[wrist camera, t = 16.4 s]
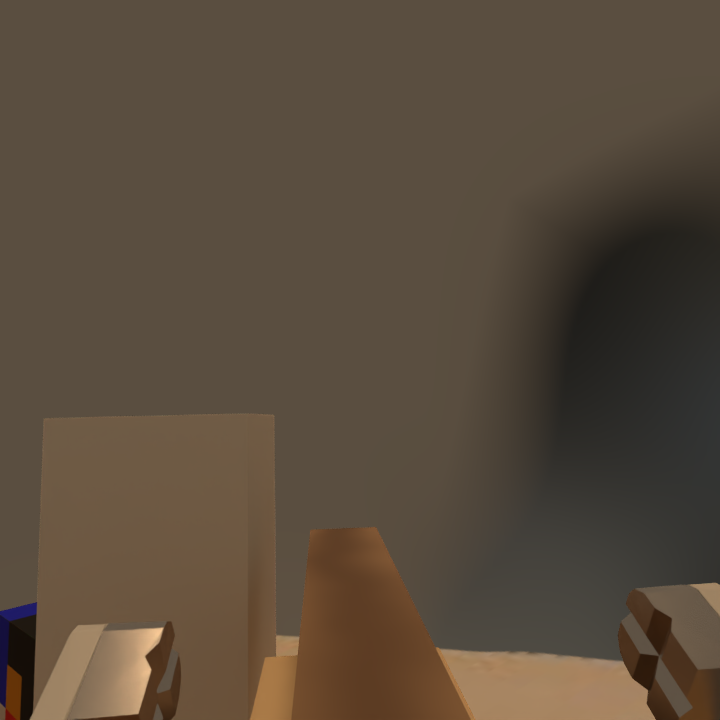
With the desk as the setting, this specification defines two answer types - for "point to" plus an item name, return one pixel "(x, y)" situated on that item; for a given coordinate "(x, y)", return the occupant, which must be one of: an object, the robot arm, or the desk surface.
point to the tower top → (279, 686)
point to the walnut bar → (365, 639)
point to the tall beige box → (163, 545)
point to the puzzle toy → (17, 662)
